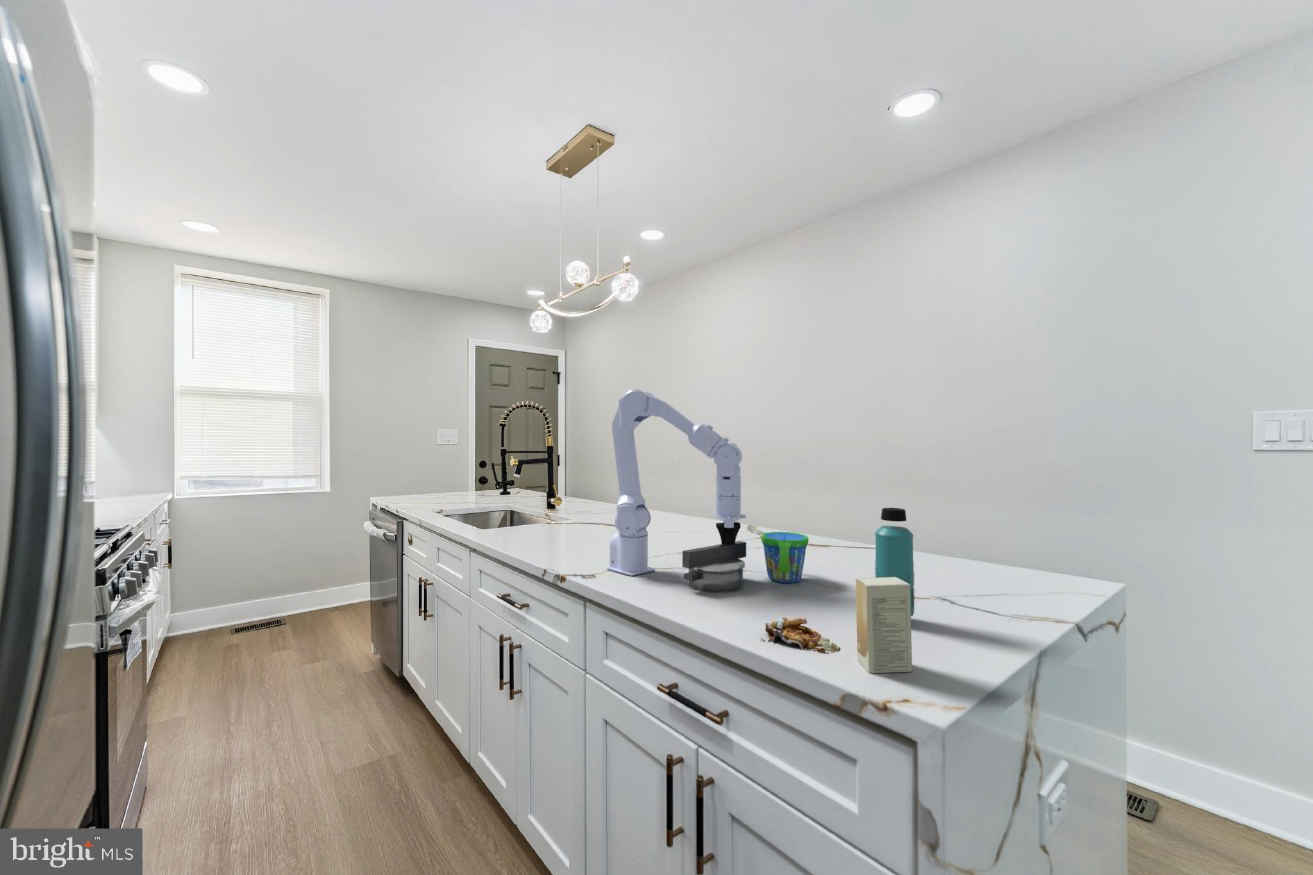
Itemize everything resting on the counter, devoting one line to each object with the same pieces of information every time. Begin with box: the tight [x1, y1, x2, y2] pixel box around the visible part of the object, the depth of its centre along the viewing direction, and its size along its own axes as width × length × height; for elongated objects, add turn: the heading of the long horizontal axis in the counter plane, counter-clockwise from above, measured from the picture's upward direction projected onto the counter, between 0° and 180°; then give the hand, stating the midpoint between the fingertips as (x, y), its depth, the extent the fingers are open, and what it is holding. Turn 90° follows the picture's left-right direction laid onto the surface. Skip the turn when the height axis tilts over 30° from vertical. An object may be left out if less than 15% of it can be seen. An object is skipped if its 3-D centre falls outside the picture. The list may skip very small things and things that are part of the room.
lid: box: [681, 540, 747, 572], centre depth 118 cm, size 18×13×4 cm
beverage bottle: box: [874, 507, 916, 617], centre depth 95 cm, size 6×7×20 cm
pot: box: [683, 561, 746, 593], centre depth 118 cm, size 18×12×4 cm, turn 134°
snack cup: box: [760, 531, 809, 584], centre depth 123 cm, size 16×10×10 cm
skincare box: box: [855, 577, 913, 674], centre depth 75 cm, size 6×4×12 cm
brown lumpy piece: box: [758, 617, 840, 654], centre depth 85 cm, size 7×12×4 cm, turn 59°
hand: (728, 554), depth 124 cm, fingers closed, pressing on lid
